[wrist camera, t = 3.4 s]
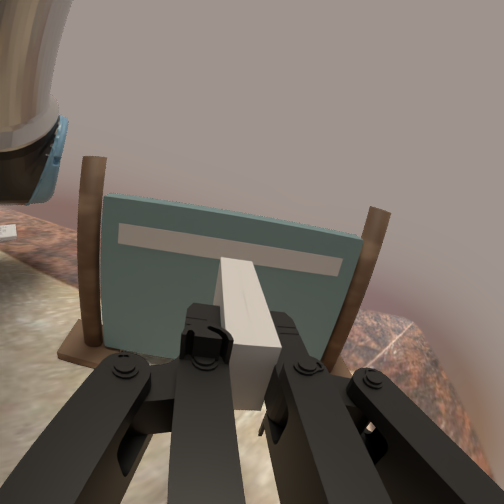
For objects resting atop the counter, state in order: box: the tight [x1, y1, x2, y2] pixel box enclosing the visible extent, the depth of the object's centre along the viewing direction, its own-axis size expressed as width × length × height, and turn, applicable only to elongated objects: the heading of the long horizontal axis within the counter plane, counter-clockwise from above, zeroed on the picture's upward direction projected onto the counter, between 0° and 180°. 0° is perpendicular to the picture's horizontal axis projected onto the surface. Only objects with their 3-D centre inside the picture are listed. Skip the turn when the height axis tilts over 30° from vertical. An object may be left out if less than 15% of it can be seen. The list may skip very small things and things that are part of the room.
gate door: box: [101, 193, 364, 361], centre depth 24 cm, size 21×2×14 cm, turn 97°
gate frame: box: [57, 156, 391, 378], centre depth 24 cm, size 30×6×18 cm, turn 97°
